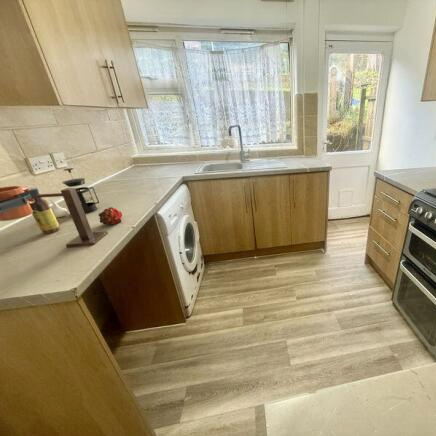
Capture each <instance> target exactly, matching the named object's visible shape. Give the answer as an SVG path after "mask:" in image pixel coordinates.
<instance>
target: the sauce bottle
mask: <svg viewBox="0 0 436 436" xmlns="http://www.w3.org/2000/svg"><path fill="white" fill-rule="evenodd" d="M28 188H29V190H35V192H36V194H40V191H39V189H38V188H37V187H28ZM23 192H26V190H24V191H23ZM34 200H35V202H34V203H32V204H30V206H31V208H32V210H33V213H32V214H31V215H32V217H33V219H34V221H35V222H36V224H37V226H38V228H39V230H40V231H41V232H42V233H43V234H51V233H54V232H57V231H60V229H61V227H60V224H59V222H58V220H57V218H55V216H54V214H53V212H52V211H53V210H52V207H51V206H50V204H49V202H48V201H47V200H46V199H44V198H43V197H41V198H34ZM29 201H30V200H29ZM29 201H28V202H29Z"/></svg>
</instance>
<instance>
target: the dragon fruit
mask: <svg viewBox="0 0 436 436" xmlns="http://www.w3.org/2000/svg"><path fill="white" fill-rule="evenodd" d="M98 217H99V222H100V224H103V225H108V226H112V225H115V223H116V224H119V223H121V222H122V217H123V213H122V212H121V211H120V210H119V209H118V208H116V207H112V206H111V207H110V206H109V207H108V208H105V209H104V210H102V212H99V214H98Z"/></svg>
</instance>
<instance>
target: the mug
mask: <svg viewBox="0 0 436 436" xmlns="http://www.w3.org/2000/svg"><path fill="white" fill-rule="evenodd" d="M29 188H30V187H28V186H23V187H22V186H21V185H9V186H2V187H0V200H3V199H7V198H11V197H15V195H18V194H21V193H23V192H24V190H26V191H29ZM34 202H35V200H34V199H32V200H30V201H27V203H28V204H26V205H25V206H20V207H17V208H14V209H11V210H8V211H5V212H2V213H0V222H7V221H9V222H10V221H14V220H19V219H22V218H26V217H29V216H31V215H32V213H33V210H32V208H31V206H30V204H32V203H34Z"/></svg>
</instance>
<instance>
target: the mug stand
mask: <svg viewBox="0 0 436 436" xmlns="http://www.w3.org/2000/svg"><path fill="white" fill-rule="evenodd" d="M75 188H76V187H67V188H63V189H61V190H60V192H58V193H41V194H40V193H39V194H37V198H58V197H59V198H60V197H62V198H63V200H64V203H65V205H66V207H67V209H68V210H67V211H68V213H69V215H70V216H71V218H72V221H73V224H74V227H75V228H76V230H77V234H78V235H77V236H76V237H75V238H73V239H71V240H69V241H68V242H67V243H66V244H65V247H66V248H67V249H68V248H79V247H88V246H95V245H96V244H97V243H98V242H100V241H101V240H102V239H103V238H105V237H106V236H107V235H108V234H109V232H108V230H105V231H92V227H91V225H90V222H89V221H88V218H87V214H85V213H84V210H83V207H82V205H81V202H80V200H79V197H78V195H77V192H76V190H75Z"/></svg>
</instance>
